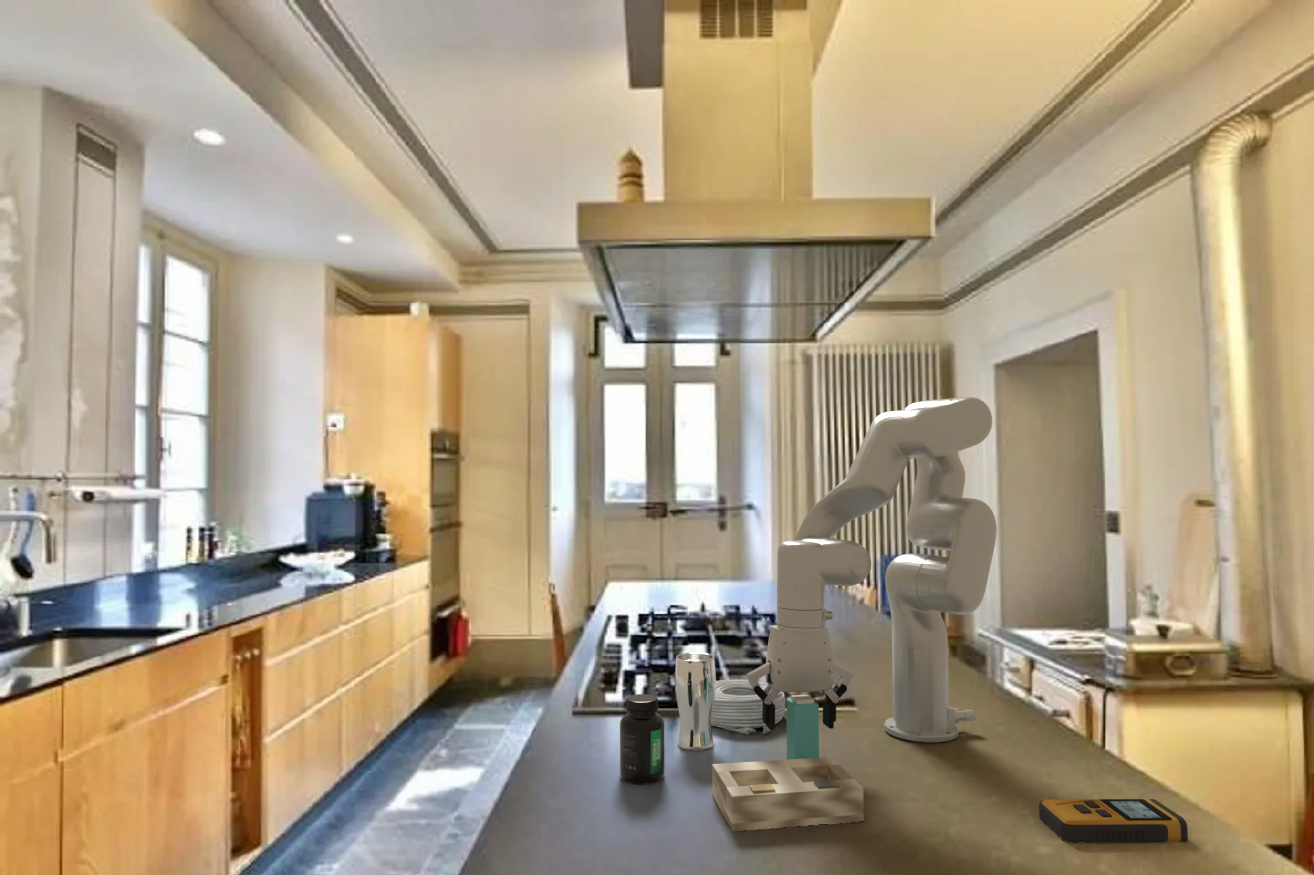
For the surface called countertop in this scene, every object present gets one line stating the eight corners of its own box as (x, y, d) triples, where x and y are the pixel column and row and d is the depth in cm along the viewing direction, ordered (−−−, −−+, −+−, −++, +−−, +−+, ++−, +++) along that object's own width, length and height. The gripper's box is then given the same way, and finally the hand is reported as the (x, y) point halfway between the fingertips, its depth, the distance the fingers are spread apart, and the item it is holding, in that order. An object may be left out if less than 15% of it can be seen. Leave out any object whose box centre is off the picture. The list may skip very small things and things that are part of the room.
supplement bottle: (668, 783, 125) (667, 703, 126) (623, 786, 124) (622, 705, 125) (660, 767, 132) (660, 691, 132) (617, 770, 131) (617, 693, 131)
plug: (810, 759, 135) (810, 693, 136) (819, 768, 131) (818, 700, 132) (786, 760, 135) (786, 694, 135) (794, 769, 131) (794, 701, 131)
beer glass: (713, 753, 138) (712, 662, 139) (672, 750, 140) (671, 660, 140) (718, 739, 145) (717, 652, 146) (679, 737, 147) (678, 651, 147)
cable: (766, 739, 146) (766, 704, 146) (677, 725, 154) (676, 692, 154) (798, 713, 161) (797, 681, 162) (715, 701, 170) (715, 672, 170)
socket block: (831, 787, 123) (831, 754, 123) (863, 821, 111) (863, 785, 112) (712, 795, 120) (712, 762, 121) (732, 831, 109) (732, 794, 109)
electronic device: (1035, 821, 113) (1034, 795, 113) (1151, 819, 113) (1150, 793, 113) (1066, 848, 105) (1065, 821, 105) (1190, 846, 105) (1189, 819, 105)
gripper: (843, 614, 139) (842, 719, 138) (742, 615, 136) (740, 721, 135) (860, 622, 131) (860, 732, 130) (754, 623, 129) (752, 735, 128)
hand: (799, 726), depth 133 cm, fingers open, 9 cm apart
